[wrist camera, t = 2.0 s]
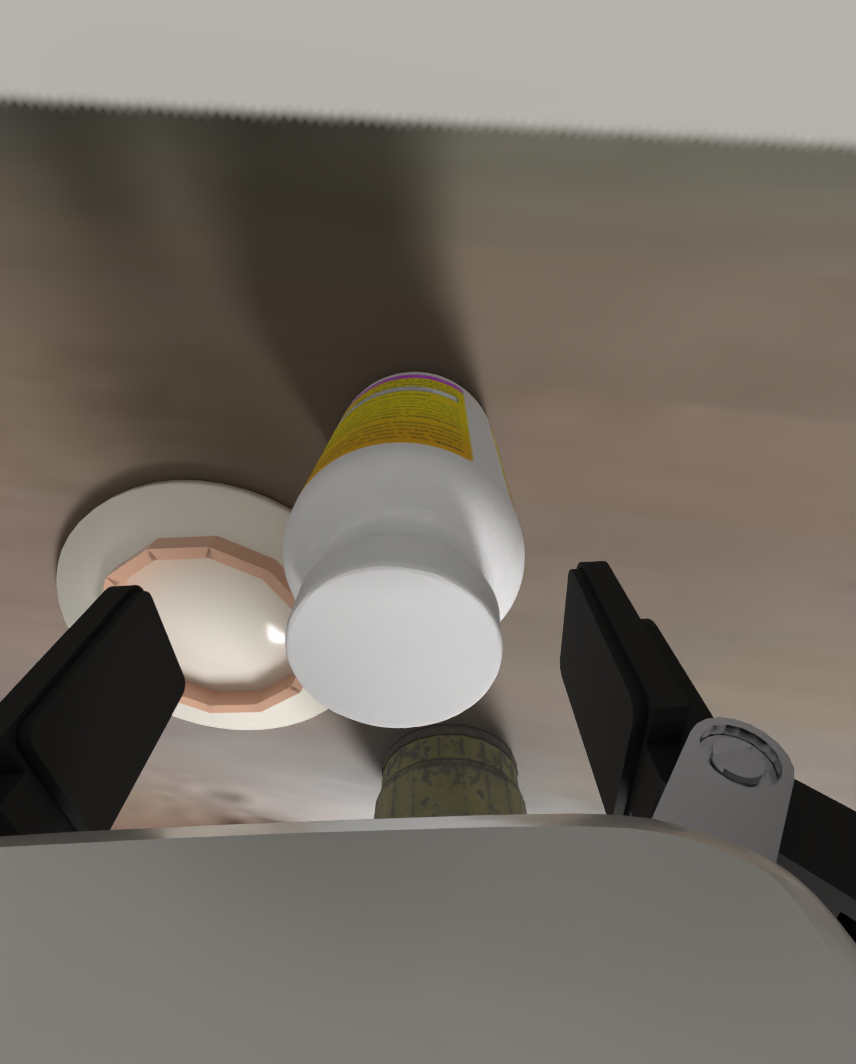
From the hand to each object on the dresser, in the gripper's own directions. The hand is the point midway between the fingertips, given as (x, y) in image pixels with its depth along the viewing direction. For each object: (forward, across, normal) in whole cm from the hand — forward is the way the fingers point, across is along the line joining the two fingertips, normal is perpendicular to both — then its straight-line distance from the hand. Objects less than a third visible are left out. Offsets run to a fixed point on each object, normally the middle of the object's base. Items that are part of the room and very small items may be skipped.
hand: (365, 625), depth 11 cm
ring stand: (+12, +10, +9) cm, 18 cm away
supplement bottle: (+12, -1, 0) cm, 12 cm away
